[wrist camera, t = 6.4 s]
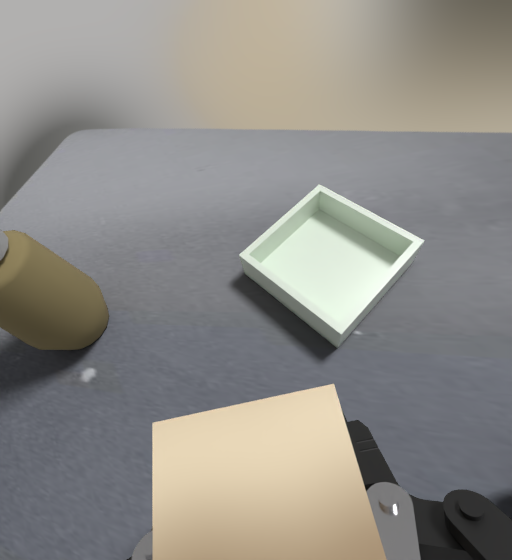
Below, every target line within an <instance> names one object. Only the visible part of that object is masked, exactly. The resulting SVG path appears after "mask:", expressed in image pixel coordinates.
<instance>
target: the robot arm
mask: <svg viewBox="0 0 512 560" xmlns="http://www.w3.org/2000/svg"><path fill="white" fill-rule="evenodd" d="M342 413H343V411H342ZM343 416H344V413H343ZM344 420H345V423H346V426H347V430H348V433H349V436H350V439H351V443H352V446H353V449H354V453H355V456H356V459H357V463H358V466H359V469H360V473H361V476H362V479H363V483H364V486H365V489H366V493H367V496H368V499H369V503H370V506H371V509H372V513H373V516H374V519H375V523H376V526H377V529H378V533H379V536H380V539H381V543H382V546H383V549H384V553H385V556H386V559H387V560H512V520H511V519H510V518H509V517H508V516H507V515H506V514H504V513H503V512H502V511H501V510H500V509H499V508H498V507H496V506H495V505H494V504H493V503H492V502H491V501H489V500H488V499H487V498H485V497H484V496H482V495H480V494H478V493H476V492H473V491H469V490H454V491H451V492H450V493H448V494H447V495H446V496H445V498H444V501H443V502H438V501H430V500H423V499H419V498H416V497H414V496H412V495H410V494H408V493H407V492H406V491H405V490H404V489H403V488H401V487H400V486H399V485H398V483H397V482H396V480H395V478H394V476H393V474H392V472H391V470H390V469H389V467H388V465H387V463H386V461H385V459H384V457H383V455H382V454H381V452H380V450H379V449H378V446H377V444H376V442H375V440H374V439H373V437H372V435H371V433H370V431H369V429H368V427H366V426H365V425H364V424H363V423H361V422H360V421H359V420H355V421H350V422H347V420H346V418H345V416H344ZM127 560H153V527H152V530H151V531H150V532H149V533H148V534H146V535H145V536H144V537H143V538H142V539H141V540H140V541H139V543H138V544H137V546H136V548H135V550H134V552H133V555H132V557H130V558H129V559H127Z"/></svg>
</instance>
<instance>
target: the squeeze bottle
mask: <svg viewBox="0 0 512 560" xmlns="http://www.w3.org/2000/svg"><path fill="white" fill-rule="evenodd" d="M108 319H109V313H108V308H107V305H106V303H105V300H104V298H103V295H102V293H101V290H100V288H99V286H98V285H97V284H96V283H95V282H94V280H93V279H92V278H91V277H89V276H88V275H86V274H85V273H83V272H82V271H80V270H79V269H77V268H76V267H74V266H73V265H71V264H70V263H68V262H67V261H65V260H64V259H62V258H61V257H59V256H58V255H56V254H55V253H53V252H52V251H51V250H49V249H48V248H46V247H45V246H43V245H42V244H40V243H39V242H37V241H36V240H34V239H33V238H31V237H30V236H28V235H27V234H25V233H22V232H19V231H15V230H11V231H1V230H0V327H1V328H2V329H4V330H5V331H7V332H9V333H10V334H12V335H13V336H15V337H17V338H18V339H20V340H22V341H23V342H25V343H26V344H28V345H30V346H33V347H35V348H37V349H40V350H77V349H82V348H84V347H86V346H89V345H91V344H92V343H93V342H94V341H96V340H97V339H98V338H99V337H100V336H101V335H102V333H103V331H104V330H105V328H106V327H107V323H108Z"/></svg>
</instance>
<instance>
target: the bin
mask: <svg viewBox="0 0 512 560" xmlns="http://www.w3.org/2000/svg"><path fill="white" fill-rule="evenodd" d="M423 243H424V240H422V239H420V238H418V237H416V236H415V235H413V234H411V233H409V232H407V231H405V230H403V229H402V228H400V227H398V226H396V225H394V224H392V223H390V222H389V221H387V220H385V219H383V218H381V217H379V216H377V215H375V214H374V213H372V212H370V211H368V210H366V209H364V208H362V207H361V206H359V205H357V204H355V203H353V202H351V201H349V200H348V199H346V198H344V197H342V196H340V195H338V194H336V193H334V192H333V191H331V190H329V189H327V188H325V187H323V186H321V185H320V184H319V185H318V186H317V187H316V188H315V189H314V190H312V191H311V192H310V193H309V194H308V195H307V196H306V197H304V198H303V199H302V200H301V201H300V202H299V203H298V204H297V205H295V206H294V207H293V208H292V209H291V210H290V211H289V212H287V213H286V214H285V215H284V216H283V217H282V218H281V219H279V220H278V221H277V222H276V223H275V224H274V225H273V226H272V227H270V228H269V229H268V230H267V231H266V232H265V233H264V234H262V235H261V236H260V237H259V238H258V239H257V240H256V241H255V242H253V243H252V244H251V245H250V246H249V247H248V248H247V249H245V250H244V251H243V252H242V253H241V254H240V255H239V257H240V260H241V263H242V267H243V270H244V273H245V274H246V275H247V276H248V277H249V278H251V279H252V280H253V281H254V282H256V283H257V284H258V285H259V286H261V287H262V288H263V289H264V290H266V291H267V292H268V293H269V294H271V295H272V296H273V297H274V298H276V299H277V300H278V301H279V302H281V303H282V304H283V305H284V306H285V307H287V308H288V309H289V310H290V311H292V312H293V313H294V314H295V315H297V316H298V317H299V318H300V319H302V320H303V321H304V322H305V323H307V324H308V325H309V326H310V327H312V328H313V329H314V330H315V331H317V332H318V333H319V334H320V335H322V336H323V337H324V338H325V339H327V340H328V341H329V342H330V343H331V344H333V345H334V346H335V347H336V348H338V347H339V346H340V345H341V344H342V343H343V342H344V341H345V339H346V338H347V337H348V336H349V335H350V334H351V333H352V331H353V330H354V329H355V328H356V327H357V326H358V325H359V323H360V322H361V321H362V320H363V319H364V318H365V317H366V315H367V314H368V313H369V312H370V311H371V310H372V309H373V307H374V306H375V305H376V304H377V303H378V302H379V301H380V299H381V298H382V297H383V296H384V295H385V294H386V293H387V292H388V290H389V289H390V288H391V287H392V286H393V285H394V284H395V282H396V281H397V280H398V279H399V278H400V277H401V276H402V274H403V273H404V272H405V271H406V270H407V269H408V268H409V266H410V265H411V264H412V263H413V262H414V260H415V258H416V256H417V254H418V252H419V251H420V249H421V247H422V245H423Z"/></svg>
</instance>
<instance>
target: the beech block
mask: <svg viewBox="0 0 512 560" xmlns="http://www.w3.org/2000/svg"><path fill="white" fill-rule="evenodd" d="M153 560H387V559H386V556H385V553H384V549H383V546H382V543H381V539H380V536H379V533H378V529H377V526H376V523H375V519H374V516H373V513H372V509H371V506H370V503H369V499H368V496H367V493H366V489H365V486H364V483H363V479H362V476H361V473H360V469H359V466H358V463H357V459H356V456H355V453H354V449H353V446H352V443H351V439H350V436H349V433H348V430H347V426H346V423H345V420H344V416H343V413H342V410H341V406H340V403H339V400H338V396H337V393H336V390H335V386H334V384H331V385H326V386H321V387H317V388H312V389H308V390H303V391H298V392H294V393H289V394H284V395H280V396H275V397H270V398H266V399H261V400H256V401H252V402H247V403H242V404H238V405H233V406H229V407H224V408H219V409H215V410H210V411H205V412H201V413H196V414H191V415H187V416H182V417H177V418H173V419H168V420H164V421H159V422H154V423H153Z"/></svg>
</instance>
